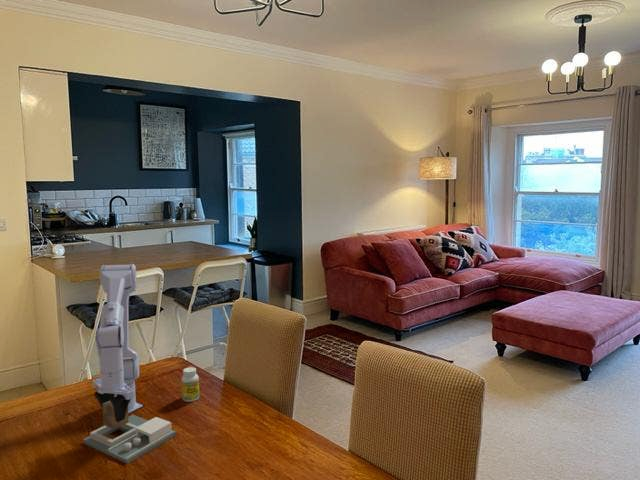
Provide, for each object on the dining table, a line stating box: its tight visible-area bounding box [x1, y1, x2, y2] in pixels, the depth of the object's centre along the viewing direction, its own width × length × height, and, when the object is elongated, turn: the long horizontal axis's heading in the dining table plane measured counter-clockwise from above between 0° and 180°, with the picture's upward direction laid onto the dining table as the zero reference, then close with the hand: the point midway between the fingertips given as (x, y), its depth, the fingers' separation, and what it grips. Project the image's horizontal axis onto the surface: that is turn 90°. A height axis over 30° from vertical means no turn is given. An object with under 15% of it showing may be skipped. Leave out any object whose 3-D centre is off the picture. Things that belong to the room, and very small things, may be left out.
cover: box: [135, 416, 173, 443], centre depth 136 cm, size 6×7×3 cm
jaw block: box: [102, 401, 129, 429], centre depth 136 cm, size 4×4×6 cm
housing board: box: [82, 414, 177, 465], centre depth 136 cm, size 18×16×2 cm
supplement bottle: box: [180, 367, 200, 403], centre depth 160 cm, size 5×5×10 cm
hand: (114, 417), depth 136 cm, fingers closed on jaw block, 4 cm apart
